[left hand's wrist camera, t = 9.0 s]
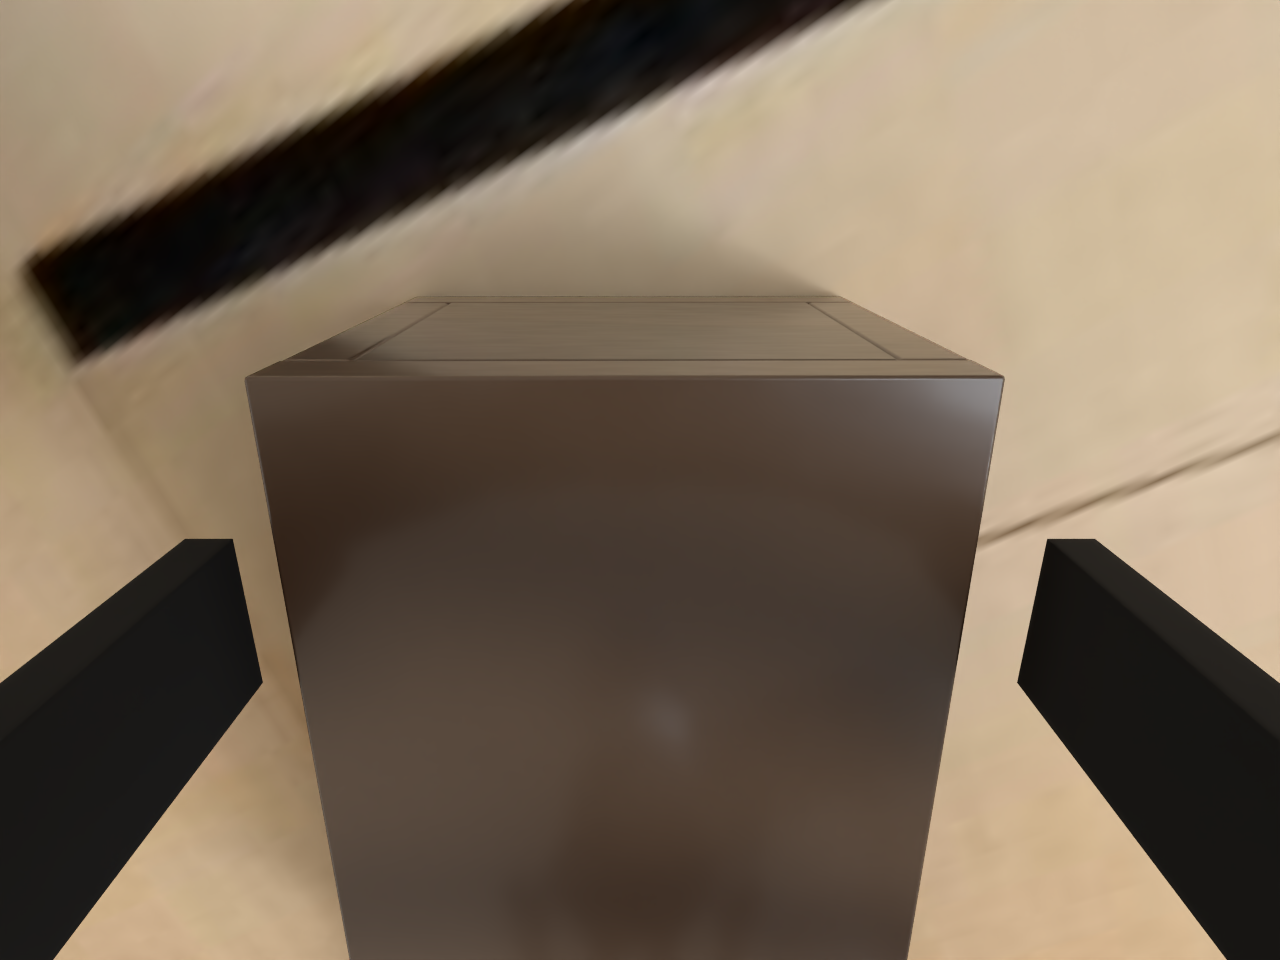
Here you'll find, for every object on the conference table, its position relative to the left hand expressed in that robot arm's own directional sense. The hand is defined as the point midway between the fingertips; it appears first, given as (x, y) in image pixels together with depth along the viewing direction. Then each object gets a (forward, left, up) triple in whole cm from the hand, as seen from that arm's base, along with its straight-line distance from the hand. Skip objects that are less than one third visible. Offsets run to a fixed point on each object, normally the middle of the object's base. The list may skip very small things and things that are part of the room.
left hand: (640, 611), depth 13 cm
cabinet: (+6, +1, -8) cm, 9 cm away
